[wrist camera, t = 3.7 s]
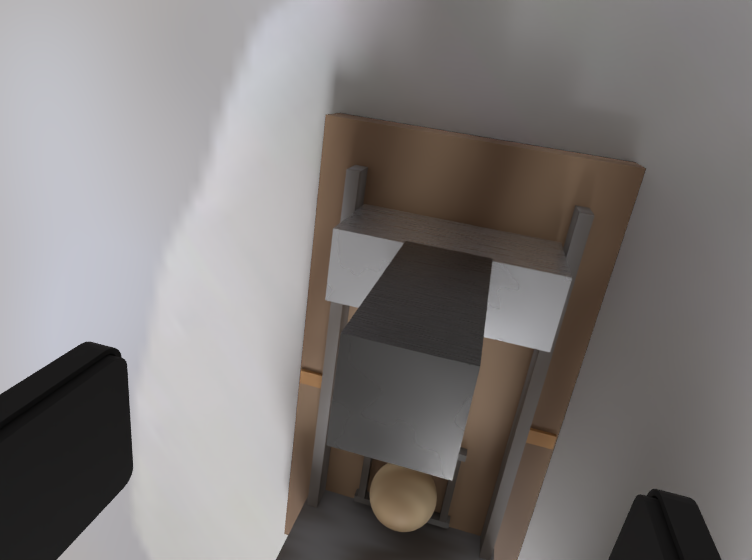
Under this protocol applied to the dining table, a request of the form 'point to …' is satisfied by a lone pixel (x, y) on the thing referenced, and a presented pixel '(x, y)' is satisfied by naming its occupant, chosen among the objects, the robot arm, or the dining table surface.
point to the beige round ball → (402, 497)
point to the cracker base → (499, 359)
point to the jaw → (429, 327)
